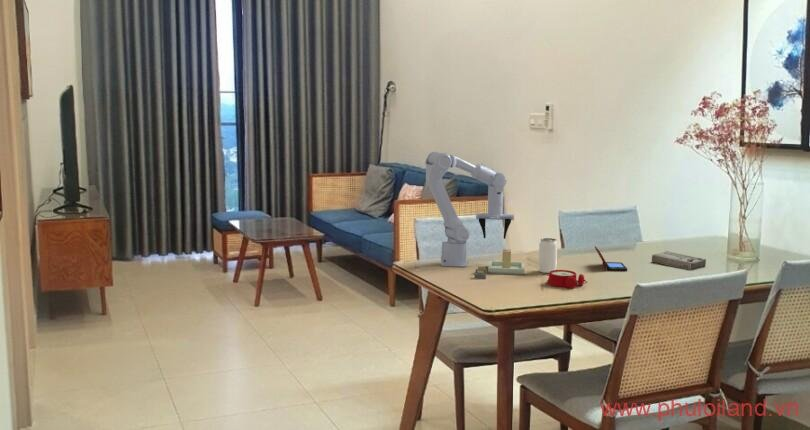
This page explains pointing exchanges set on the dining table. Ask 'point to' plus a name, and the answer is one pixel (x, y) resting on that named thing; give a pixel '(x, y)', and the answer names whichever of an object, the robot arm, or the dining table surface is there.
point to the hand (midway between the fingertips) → (494, 238)
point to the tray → (496, 268)
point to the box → (679, 260)
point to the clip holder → (480, 273)
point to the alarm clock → (564, 279)
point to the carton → (506, 258)
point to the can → (547, 255)
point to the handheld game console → (612, 264)
